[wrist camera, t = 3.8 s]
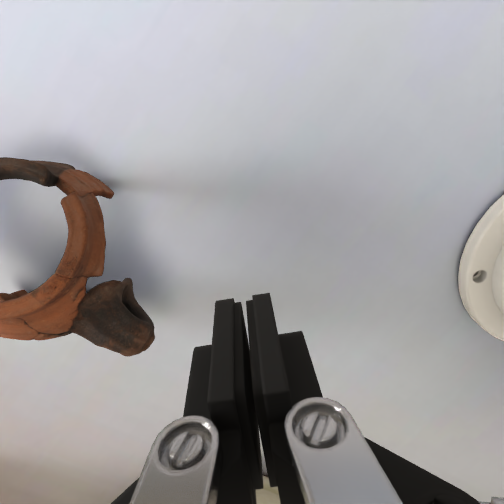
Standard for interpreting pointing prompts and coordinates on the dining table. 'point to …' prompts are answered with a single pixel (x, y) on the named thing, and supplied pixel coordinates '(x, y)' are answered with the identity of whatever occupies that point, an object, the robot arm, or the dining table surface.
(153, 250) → the dining table surface
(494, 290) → the robot arm
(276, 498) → the kettle
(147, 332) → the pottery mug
